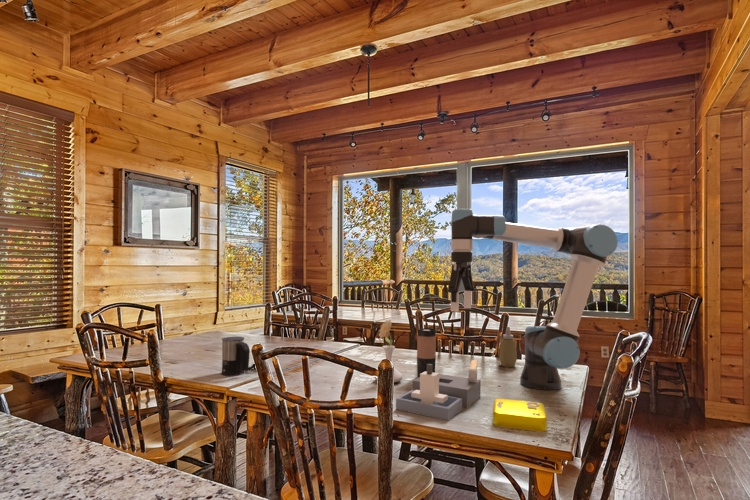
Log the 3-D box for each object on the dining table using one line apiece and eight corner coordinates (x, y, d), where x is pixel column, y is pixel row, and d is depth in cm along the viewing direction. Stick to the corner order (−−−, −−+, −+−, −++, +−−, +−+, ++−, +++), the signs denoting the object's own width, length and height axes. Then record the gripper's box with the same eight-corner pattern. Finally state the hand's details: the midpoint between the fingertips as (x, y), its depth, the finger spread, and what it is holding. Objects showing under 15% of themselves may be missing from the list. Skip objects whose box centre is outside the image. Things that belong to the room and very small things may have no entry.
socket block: (480, 397, 156) (480, 380, 156) (467, 408, 144) (467, 389, 144) (428, 388, 166) (428, 372, 167) (412, 397, 154) (412, 380, 155)
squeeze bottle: (519, 365, 206) (519, 326, 206) (514, 368, 199) (514, 329, 199) (501, 363, 210) (502, 325, 210) (496, 366, 203) (497, 327, 204)
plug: (416, 403, 147) (416, 361, 147) (447, 409, 141) (447, 365, 142) (411, 406, 143) (411, 363, 144) (442, 412, 138) (443, 367, 138)
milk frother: (216, 375, 181) (216, 339, 182) (238, 366, 196) (239, 333, 197) (245, 378, 177) (246, 341, 177) (266, 369, 192) (267, 335, 192)
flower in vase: (374, 377, 181) (375, 316, 182) (402, 377, 181) (402, 317, 181) (373, 386, 168) (374, 320, 169) (403, 386, 168) (404, 321, 168)
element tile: (494, 410, 143) (494, 396, 143) (543, 416, 139) (543, 401, 139) (492, 427, 129) (492, 410, 129) (547, 434, 124) (547, 417, 124)
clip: (477, 383, 152) (477, 371, 152) (468, 382, 152) (468, 370, 153) (478, 371, 169) (478, 360, 169) (470, 370, 169) (470, 359, 170)
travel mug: (434, 381, 177) (435, 331, 177) (415, 379, 178) (416, 330, 179) (436, 376, 184) (436, 328, 185) (417, 375, 186) (418, 327, 186)
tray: (462, 409, 143) (462, 398, 143) (448, 420, 133) (448, 408, 133) (412, 399, 152) (412, 389, 152) (396, 409, 142) (396, 398, 142)
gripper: (463, 252, 173) (463, 306, 172) (438, 250, 151) (438, 312, 151) (482, 252, 169) (481, 307, 168) (459, 250, 147) (459, 313, 147)
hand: (461, 309), depth 159 cm, fingers open, 13 cm apart
